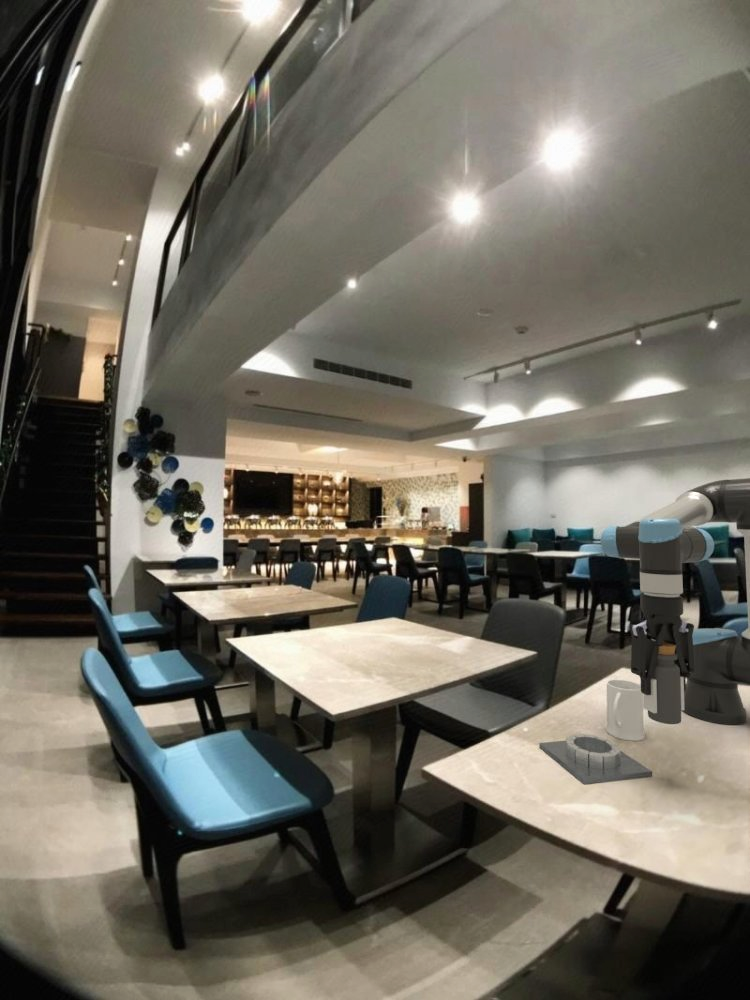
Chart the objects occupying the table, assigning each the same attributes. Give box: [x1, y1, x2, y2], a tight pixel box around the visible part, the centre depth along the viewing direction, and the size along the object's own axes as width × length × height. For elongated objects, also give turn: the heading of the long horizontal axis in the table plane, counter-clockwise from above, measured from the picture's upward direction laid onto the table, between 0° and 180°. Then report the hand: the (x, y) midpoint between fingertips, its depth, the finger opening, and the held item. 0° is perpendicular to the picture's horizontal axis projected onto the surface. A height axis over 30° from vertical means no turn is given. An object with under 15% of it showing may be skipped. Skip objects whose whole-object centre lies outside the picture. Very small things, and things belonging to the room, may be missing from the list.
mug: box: [605, 679, 646, 742], centre depth 118 cm, size 12×8×12 cm
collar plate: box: [538, 733, 653, 785], centre depth 105 cm, size 16×16×4 cm
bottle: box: [647, 641, 682, 725], centre depth 97 cm, size 6×6×15 cm
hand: (663, 708), depth 97 cm, fingers closed on bottle, 6 cm apart
